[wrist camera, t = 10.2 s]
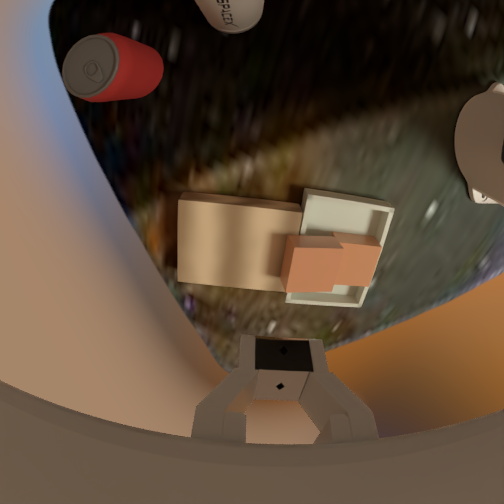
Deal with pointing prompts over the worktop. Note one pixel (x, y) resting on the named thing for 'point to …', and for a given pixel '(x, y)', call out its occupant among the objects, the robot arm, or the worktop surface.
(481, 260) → the worktop surface
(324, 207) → the tray
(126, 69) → the beer can
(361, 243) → the tile
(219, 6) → the travel mug
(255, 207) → the bench
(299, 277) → the tile
